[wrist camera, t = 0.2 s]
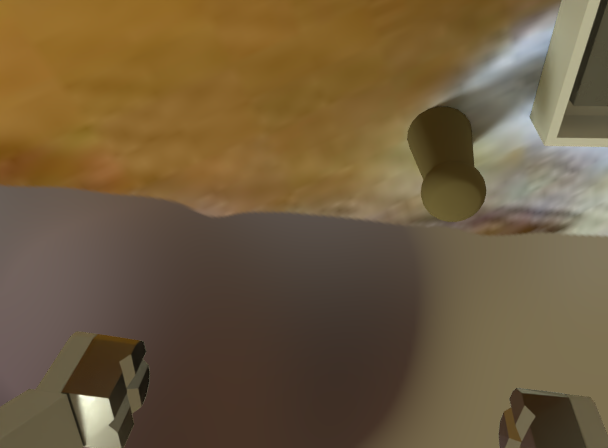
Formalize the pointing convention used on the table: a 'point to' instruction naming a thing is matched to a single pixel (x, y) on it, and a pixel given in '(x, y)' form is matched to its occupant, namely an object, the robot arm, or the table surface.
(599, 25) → the tin box
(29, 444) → the robot arm
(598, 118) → the tote
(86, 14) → the table surface
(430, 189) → the cork
